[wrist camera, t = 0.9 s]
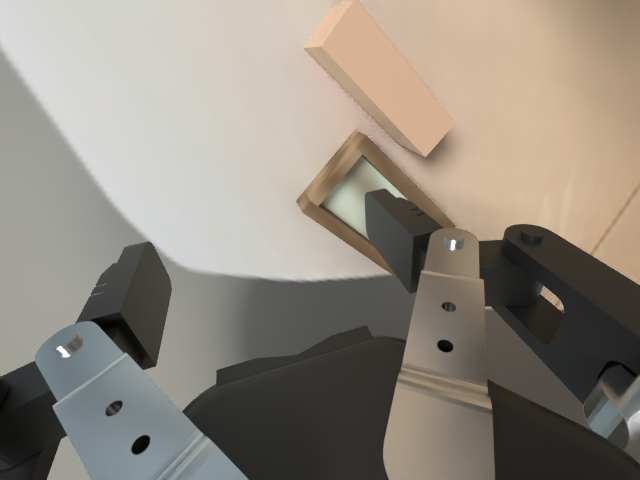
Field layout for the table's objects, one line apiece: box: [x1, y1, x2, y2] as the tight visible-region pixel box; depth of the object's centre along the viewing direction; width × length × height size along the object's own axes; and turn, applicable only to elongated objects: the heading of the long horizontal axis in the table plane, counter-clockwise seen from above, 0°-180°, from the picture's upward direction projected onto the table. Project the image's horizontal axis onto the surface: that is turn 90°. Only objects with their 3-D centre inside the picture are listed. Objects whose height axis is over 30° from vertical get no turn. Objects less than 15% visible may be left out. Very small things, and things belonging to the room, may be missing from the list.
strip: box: [304, 0, 455, 157], centre depth 29 cm, size 4×14×6 cm, turn 50°
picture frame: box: [296, 130, 455, 278], centre depth 37 cm, size 10×18×3 cm, turn 49°
